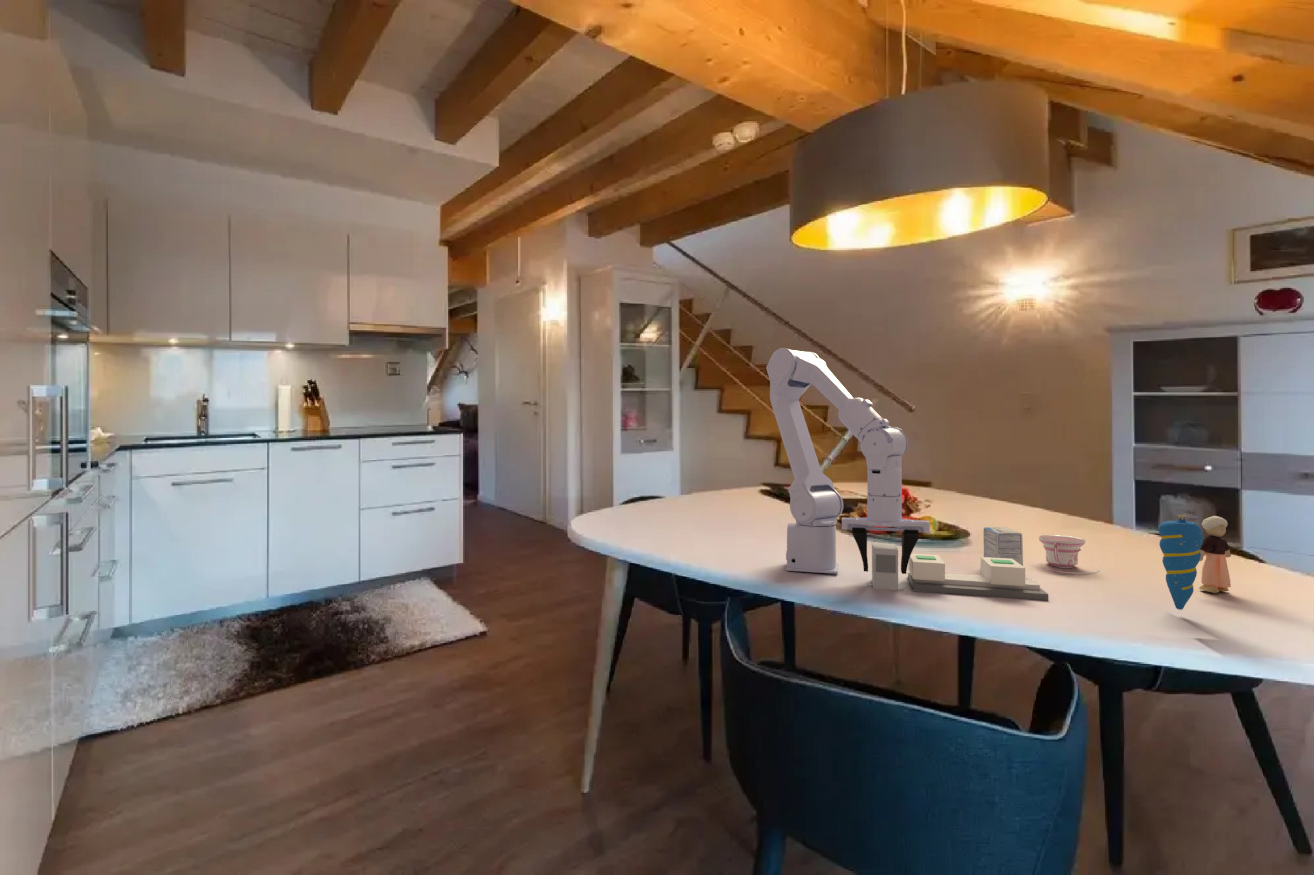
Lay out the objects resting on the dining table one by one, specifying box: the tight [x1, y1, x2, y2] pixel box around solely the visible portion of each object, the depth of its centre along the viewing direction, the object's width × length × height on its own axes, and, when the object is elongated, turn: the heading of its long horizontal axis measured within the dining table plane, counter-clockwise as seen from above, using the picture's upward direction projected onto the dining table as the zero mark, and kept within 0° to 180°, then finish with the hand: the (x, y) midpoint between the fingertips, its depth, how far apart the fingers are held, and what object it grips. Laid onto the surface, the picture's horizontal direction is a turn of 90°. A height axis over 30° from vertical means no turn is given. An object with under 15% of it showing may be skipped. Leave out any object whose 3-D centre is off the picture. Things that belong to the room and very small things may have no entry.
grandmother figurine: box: [1198, 515, 1232, 593], centre depth 103 cm, size 8×4×13 cm, turn 117°
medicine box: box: [983, 526, 1024, 567], centre depth 114 cm, size 8×4×9 cm, turn 168°
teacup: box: [1036, 534, 1100, 575], centre depth 120 cm, size 12×12×6 cm
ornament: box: [1157, 510, 1204, 611], centre depth 91 cm, size 5×5×15 cm
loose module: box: [871, 542, 899, 591], centre depth 106 cm, size 4×6×7 cm, turn 163°
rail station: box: [907, 552, 1049, 601], centre depth 104 cm, size 20×10×5 cm, turn 73°
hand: (884, 571), depth 106 cm, fingers open, 6 cm apart
